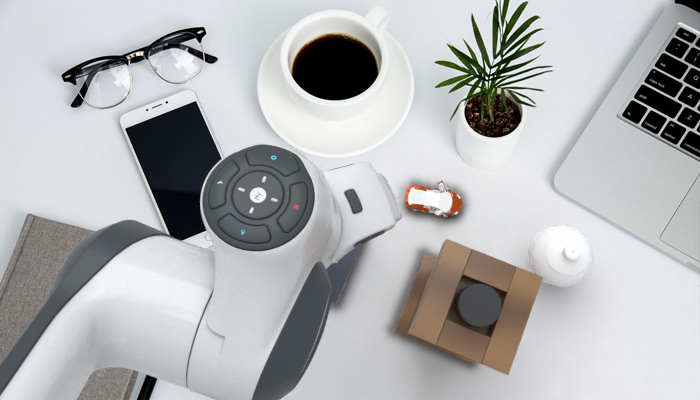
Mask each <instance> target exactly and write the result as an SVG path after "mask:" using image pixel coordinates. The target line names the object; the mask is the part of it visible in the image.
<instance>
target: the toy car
mask: <svg viewBox="0 0 700 400" xmlns="http://www.w3.org/2000/svg"><path fill="white" fill-rule="evenodd" d="M437 185H438V189H439V190H437V189H432V188H431V187H428V186H423V185H418V184H412V185H409V186H408V188H407V189H406V192H405V195H404V205H405V207H406V208H407V209H409V210H410V211H413V212H421V213H422V212H423V213H430V214H434V217H436V218H440V217H441V216H443V218H445V217H446V218H448V219H449V218H451V217H455V216H457V215H459V214H460V212H461V210H462V208H463V200H462V199H463V198H462V197H461V195H460V194H458V193H457V192H454V191H451V190H450V188H449V186H447V184H446V183H445V182H444V181H443V179H442V180H441V181H439V182H437Z"/></svg>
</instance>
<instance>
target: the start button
mask: <svg viewBox="0 0 700 400" xmlns="http://www.w3.org/2000/svg"><path fill="white" fill-rule="evenodd" d="M501 308H502V304H501V299H500V297H499V295H498V293H497V292H496V291H495V290H494V289H493V288H491V287H490V286H488V285H485V284H474V285H470V286H467V287H465V288H464V289H462V290H461V291H460V292H459V293H458V295H457V297H456V300H455V311H456V314H457V316H458V317H459V318H460V320H461V321H463V322H464V323H465V324H467V325H470V326H475V327H485V326H489V325H491V324H492V323H494V322H495V321H496V320H497V319H498V317H499V315H500V313H501Z"/></svg>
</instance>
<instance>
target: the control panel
mask: <svg viewBox="0 0 700 400" xmlns="http://www.w3.org/2000/svg"><path fill="white" fill-rule="evenodd" d="M361 247H362V245H360V246H359V247H356V248H354V249H352V250H351V251H350V252H348V253H347V254H346V255H344V256H343V257H342V258H341V259H339V260H338V261H337V262H335V263H332V264H331V265H330V266H329V267H328V268H327V269H326V270H327V273H328V275H329V278H330V281H331V285H332V288H333V294H332V300H331V302H334V303H336V304H338V303H339V301H340V298H341V296H342V293H343V291H344V289H345V287H346V284H347V283H348V282H347V281H348V279H349V277H350V274H351V271H352V270H353V267H354V264H355V262H356V259H357V257H358V254H359V252H360V249H361Z"/></svg>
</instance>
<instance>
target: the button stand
mask: <svg viewBox="0 0 700 400" xmlns="http://www.w3.org/2000/svg"><path fill="white" fill-rule="evenodd" d="M542 279H543V277H542V276H539V275H537V274H536V273H535V272H532V271H529V270H526V269H524V268H521V267H519V266H516V265H513V264H511V263H509V262H506V261H504V260H501V259H499V258H496V257H495V256H491V255H489V254H487V253H484V252H481V251H479V250H476V249H474V248H471V247H468V246H466V245H464V244H461V243H459V242H456V241H453V240H450V239H448V238H446V239H445V240H444V241H443V242H442V244H441V247H440V249H439V252H438V255H437V257H436V258H435V257H432V256H430V255H428V254H423V257H422V259H421V261H420V264H419V267H418V269H417V272H416V275H415V276H414V280H413V282H412V285H411V287H410V291H409V292H408V295H407V298H406V301H405V303H404V305H403V307H402V311H401V313H400V316H399V318H398V321H397V323H396V326H395V328H394V332H395V333H398V334H400V335H403V336H404V337H407V338H410V339H412V340H415V341H417V342H419V343H422V344H424V345H426V346H429V347H432V348H434V349H437V350H439V351H441V352H444V353H446V354H448V355H450V356H452V357H456V358H458V359H460V360H463V361H465V362H468V363H470V364H473V365H474V363H478V364H480V365H483V366H485V367H487V368H488V369H489V368H490V369H492V370H495V371H497V372H499V373H502V374H504V375H506V376H509V375H510V373H511V369H512V366H513V364H514V361H515V358H516V355H517V352H518V350H519V346H520V344H521V342H522V341H521V340H522V338H523V336H524V333H525V329H526V327H527V323H528V321H529V318H530V316H531V312H532V310H533V307H534V304H535V302H536V299H537V296H538V293H539V290H540V288H541V285H542V283H543V280H542ZM474 284H485V285H488V286H490V287H491V288H493V289H494V290H495V291H496V292H497V293H498V295H499V297H500V299H501V304H502V308H501V313H500V315H499V317H498V319H497V320H496V321H495V322H494V323H492V324H491V325H489V326H485V327H475V326H470V325H467V324H465V323H464V322H463V321H461V320H460V318H459V317H458V316H457V314H456V311H455V300H456V297H457V295H458V293H459V292H460V291H461V290H462V289H464V288H465V287H467V286H470V285H474Z"/></svg>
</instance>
